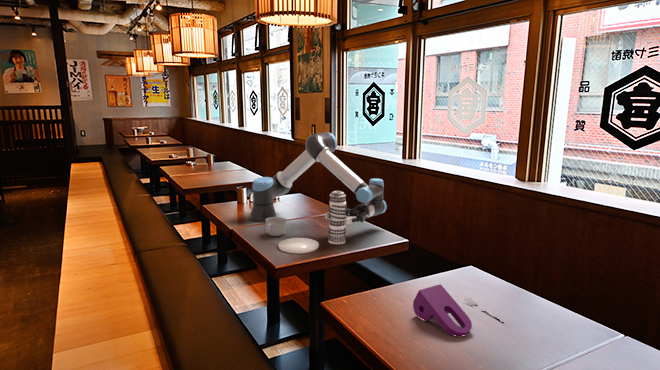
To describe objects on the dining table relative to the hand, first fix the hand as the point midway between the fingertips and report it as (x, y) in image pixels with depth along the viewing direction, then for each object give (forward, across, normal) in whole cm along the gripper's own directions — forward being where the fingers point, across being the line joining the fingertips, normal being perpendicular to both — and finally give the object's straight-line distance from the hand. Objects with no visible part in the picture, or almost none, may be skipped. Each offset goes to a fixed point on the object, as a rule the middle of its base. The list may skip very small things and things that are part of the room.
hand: (336, 218), depth 209 cm
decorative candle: (-1, 0, -12) cm, 12 cm away
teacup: (+15, +29, -12) cm, 35 cm away
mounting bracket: (+32, -77, -12) cm, 85 cm away
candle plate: (+17, +8, -12) cm, 22 cm away
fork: (+17, -86, -12) cm, 89 cm away
